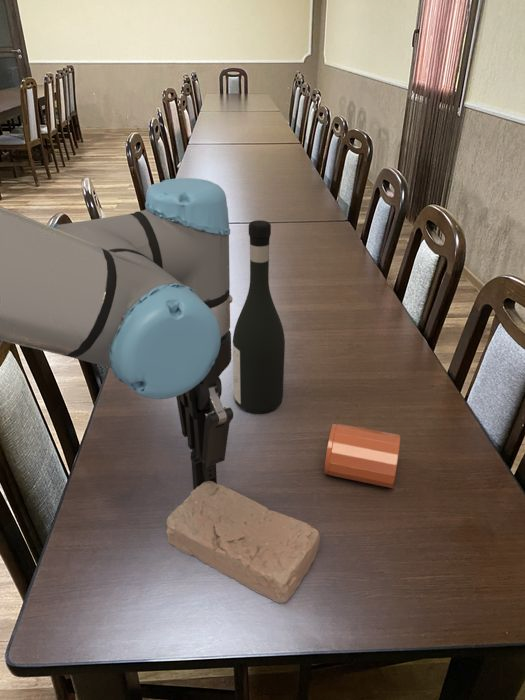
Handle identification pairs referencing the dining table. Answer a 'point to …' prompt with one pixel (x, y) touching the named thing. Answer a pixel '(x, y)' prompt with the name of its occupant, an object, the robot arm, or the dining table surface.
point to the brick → (244, 540)
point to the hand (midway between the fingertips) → (205, 490)
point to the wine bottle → (258, 334)
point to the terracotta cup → (362, 455)
